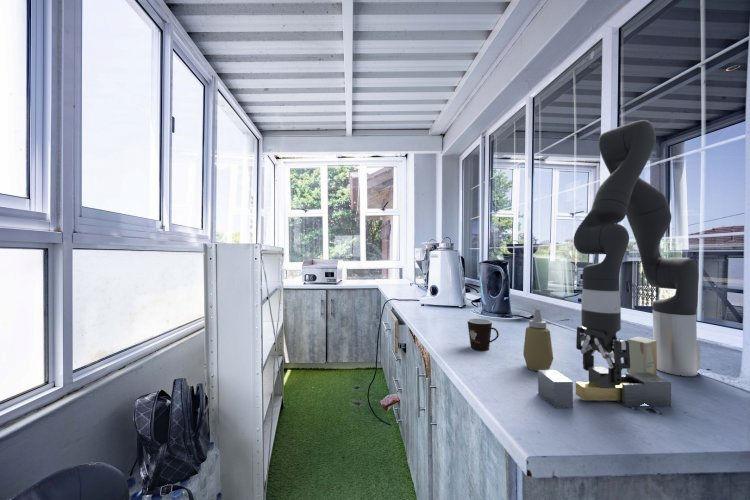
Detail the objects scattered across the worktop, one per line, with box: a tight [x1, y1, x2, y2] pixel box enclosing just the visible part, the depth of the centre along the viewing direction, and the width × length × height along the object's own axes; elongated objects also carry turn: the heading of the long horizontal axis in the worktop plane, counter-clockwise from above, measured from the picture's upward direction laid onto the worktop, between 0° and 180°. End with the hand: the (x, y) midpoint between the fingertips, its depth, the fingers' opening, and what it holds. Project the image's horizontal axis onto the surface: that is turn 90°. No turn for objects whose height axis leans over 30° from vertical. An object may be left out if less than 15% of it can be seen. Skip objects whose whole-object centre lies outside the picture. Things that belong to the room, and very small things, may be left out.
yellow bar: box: [575, 366, 640, 401], centre depth 73 cm, size 18×4×6 cm, turn 89°
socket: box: [537, 369, 574, 409], centre depth 73 cm, size 4×7×6 cm, turn 179°
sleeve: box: [615, 372, 672, 407], centre depth 72 cm, size 10×5×6 cm, turn 89°
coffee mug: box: [466, 318, 500, 352], centre depth 111 cm, size 12×9×10 cm
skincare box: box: [626, 336, 658, 376], centre depth 80 cm, size 6×4×12 cm
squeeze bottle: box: [522, 308, 554, 372], centre depth 93 cm, size 8×8×18 cm
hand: (600, 376), depth 73 cm, fingers open, 8 cm apart
